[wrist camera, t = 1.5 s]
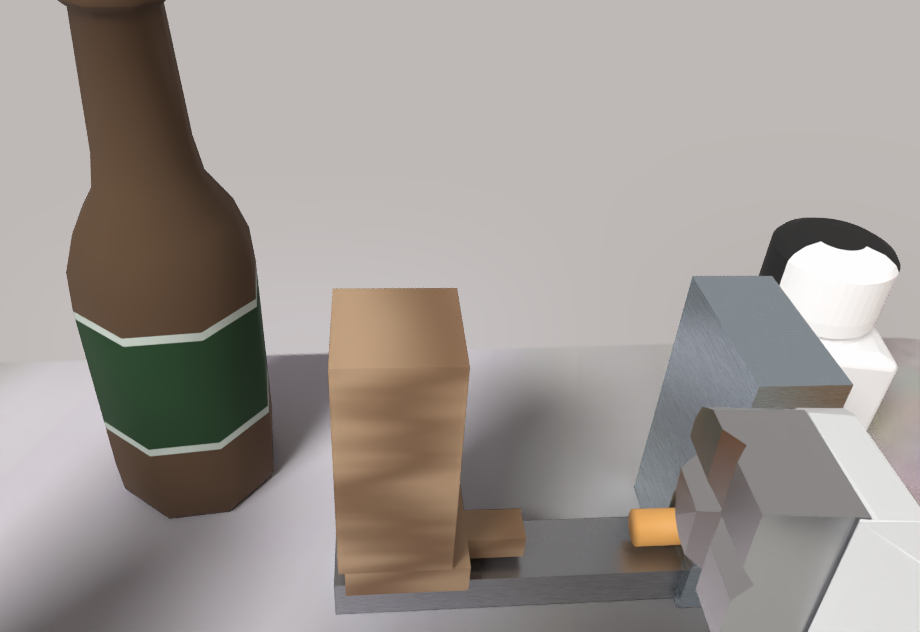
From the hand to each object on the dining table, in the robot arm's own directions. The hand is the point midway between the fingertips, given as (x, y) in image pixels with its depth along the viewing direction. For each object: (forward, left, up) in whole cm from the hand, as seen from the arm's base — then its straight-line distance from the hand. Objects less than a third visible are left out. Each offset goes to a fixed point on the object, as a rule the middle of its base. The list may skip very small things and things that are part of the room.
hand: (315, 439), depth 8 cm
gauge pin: (+14, +16, -22) cm, 31 cm away
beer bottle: (-8, +23, -25) cm, 35 cm away
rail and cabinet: (+8, +17, -24) cm, 31 cm away
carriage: (+3, +16, -22) cm, 27 cm away
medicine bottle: (+23, +26, -25) cm, 43 cm away
